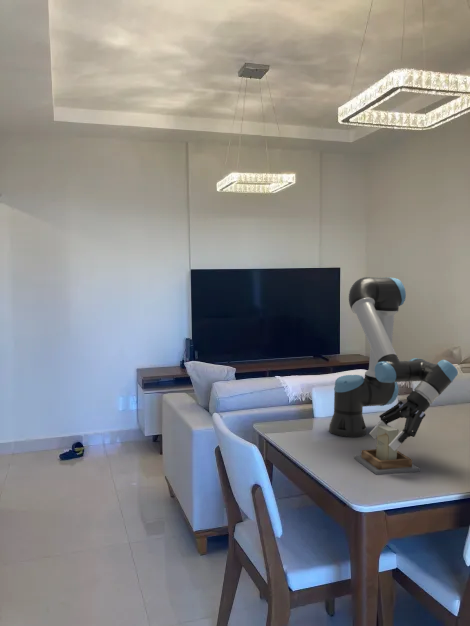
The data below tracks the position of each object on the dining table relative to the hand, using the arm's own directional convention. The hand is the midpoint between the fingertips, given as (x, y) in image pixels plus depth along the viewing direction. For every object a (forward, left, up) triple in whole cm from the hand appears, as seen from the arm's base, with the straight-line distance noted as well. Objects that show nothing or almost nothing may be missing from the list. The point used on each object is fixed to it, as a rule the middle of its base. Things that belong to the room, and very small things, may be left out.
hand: (381, 442), depth 187 cm
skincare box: (0, +2, -7) cm, 8 cm away
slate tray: (0, +2, -8) cm, 8 cm away
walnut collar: (0, +2, -8) cm, 8 cm away
